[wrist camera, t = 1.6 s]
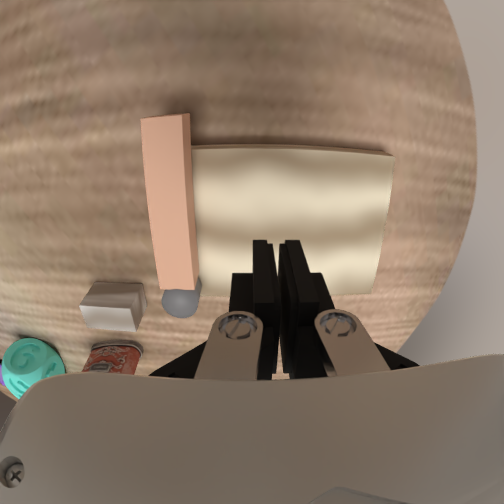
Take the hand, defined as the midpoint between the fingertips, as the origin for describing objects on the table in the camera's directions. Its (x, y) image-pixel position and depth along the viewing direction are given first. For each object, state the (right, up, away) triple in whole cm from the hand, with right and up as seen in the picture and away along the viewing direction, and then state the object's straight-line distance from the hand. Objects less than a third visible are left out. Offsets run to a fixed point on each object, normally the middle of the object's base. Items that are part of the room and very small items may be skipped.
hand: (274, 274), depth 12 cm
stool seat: (-4, +3, +18) cm, 19 cm away
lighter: (-19, -12, +26) cm, 34 cm away
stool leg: (-7, +4, +14) cm, 16 cm away
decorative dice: (-34, -15, +27) cm, 46 cm away
